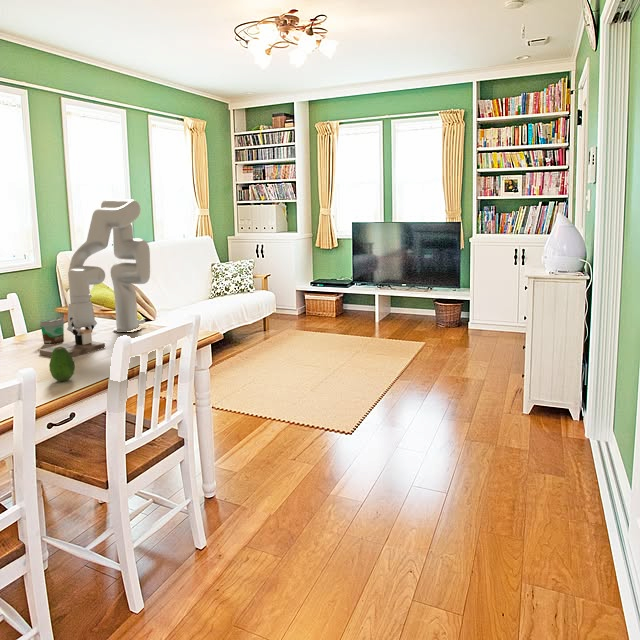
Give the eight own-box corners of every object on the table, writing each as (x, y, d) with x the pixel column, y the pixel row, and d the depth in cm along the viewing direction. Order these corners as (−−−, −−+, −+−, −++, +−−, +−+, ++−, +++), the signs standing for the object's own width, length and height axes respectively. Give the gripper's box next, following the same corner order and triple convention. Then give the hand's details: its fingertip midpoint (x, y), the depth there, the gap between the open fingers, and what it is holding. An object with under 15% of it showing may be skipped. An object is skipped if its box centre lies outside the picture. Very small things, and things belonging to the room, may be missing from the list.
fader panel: (81, 343, 247) (81, 339, 246) (105, 347, 240) (104, 342, 240) (39, 354, 229) (39, 349, 229) (64, 359, 223) (63, 354, 223)
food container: (54, 346, 243) (52, 322, 241) (41, 345, 244) (39, 322, 242) (72, 339, 254) (70, 316, 252) (60, 338, 256) (58, 316, 254)
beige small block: (83, 341, 242) (82, 328, 241) (92, 342, 240) (91, 330, 239) (75, 343, 239) (74, 330, 238) (84, 344, 236) (83, 332, 235)
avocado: (45, 383, 194) (42, 348, 192) (59, 376, 202) (56, 343, 199) (67, 385, 193) (64, 350, 190) (81, 378, 201) (78, 344, 198)
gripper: (90, 295, 244) (93, 338, 248) (56, 301, 230) (60, 346, 234) (103, 297, 241) (106, 340, 245) (69, 303, 226) (73, 348, 230)
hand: (83, 342), depth 239 cm, fingers closed on beige small block, 4 cm apart
